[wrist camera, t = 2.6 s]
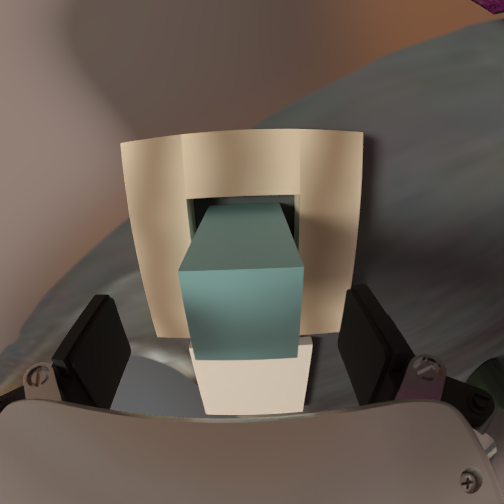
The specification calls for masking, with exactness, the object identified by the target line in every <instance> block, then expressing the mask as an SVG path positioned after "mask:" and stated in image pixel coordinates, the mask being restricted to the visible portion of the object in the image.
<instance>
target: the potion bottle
mask: <svg viewBox="0 0 504 504" xmlns="http://www.w3.org/2000/svg"><path fill="white" fill-rule="evenodd" d="M466 383H467V384H469V385H472V386H475V387H478V388H481V389H483V390H485V391H487V392H488V393H489V394H490V395H491V396H492V398H493V400H494V403H495V408H496V409H498V408H499V407H501V408H502V409H504V367H503V366H502V365H501V364H500V363H499V362H498V361H497V360H495V359H491V360H488V361H486V362H485V363H483V364H482V365H481V366H479V367H478V368H477V369H476V370H475V371H474V372H473V373H472V374H471V376H470V377H469V379H468V380H467V382H466Z"/></svg>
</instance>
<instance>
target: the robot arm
mask: <svg viewBox="0 0 504 504" xmlns="http://www.w3.org/2000/svg"><path fill="white" fill-rule="evenodd" d="M338 348H339V351H340V354H341V357H342V359H343V362H344V364H345V367H346V370H347V372H348V375H349V378H350V380H351V383H352V386H353V389H354V391H355V394H356V397H357V400H358V402H359V405H360V406H357V407H351V408H345V409H339V410H332V411H324V412H317V413H309V414H300V415H290V416H278V417H263V418H235V419H208V418H183V417H182V418H181V417H167V416H156V415H145V414H137V413H129V412H122V411H115V410H110V407H111V404H112V401H113V398H114V396H115V393H116V390H117V388H118V385H119V383H120V380H121V377H122V375H123V372H124V370H125V367H126V365H127V362H128V360H129V357H130V354H131V348H130V345H129V342H128V340H127V337H126V334H125V331H124V329H123V326H122V323H121V320H120V317H119V314H118V311H117V308H116V305H115V302H114V300H113V299H112V298H110V296H109V295H95V296H94V297H93V298H92V300H91V301H90V302H89V304H88V305H87V307H86V308H85V309H84V311H83V312H82V314H81V315H80V316H79V318H78V319H77V321H76V322H75V324H74V325H73V326H72V328H71V329H70V331H69V332H68V334H67V335H66V337H65V338H64V340H63V341H62V343H61V344H60V346H59V347H58V349H57V351H56V352H55V354H54V355H53V357H52V358H51V359H52V361H53V364H52V366H51V365H50V364H47V363H38V364H35V365H33V366H31V367H30V368H29V369H28V370H27V371H26V373H25V375H24V378H23V383H24V385H23V386H21V387H19V388H17V389H15V390H13V391H11V392H9V393H6V394H4V395H2V396H0V504H504V409H502V408H501V407H499V408H498V409H496V408H495V403H494V400H493V398H492V396H491V395H490V394H489V393H488V392H487V391H485V390H483V389H481V388H478V387H475V386H472V385H469V384H467V383H464V382H461V381H458V380H456V379H453V378H450V377H447V376H446V368H445V365H444V364H443V362H442V361H441V360H439V359H438V358H437V357H435V356H432V355H428V354H420V355H417V356H415V355H414V353H413V351H412V350H411V348H410V347H409V345H408V344H407V342H406V340H405V339H404V337H403V336H402V334H401V333H400V331H399V330H398V328H397V327H396V325H395V324H394V322H393V321H392V319H391V318H390V316H389V315H388V314H386V312H385V311H384V309H383V308H382V306H381V305H380V303H379V302H378V300H377V299H376V297H375V296H374V295H373V293H372V292H371V290H370V289H369V287H368V286H367V285H366V284H361V285H352V286H351V288H350V289H348V290H347V291H346V297H345V303H344V310H343V316H342V321H341V327H340V332H339V338H338Z"/></svg>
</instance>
